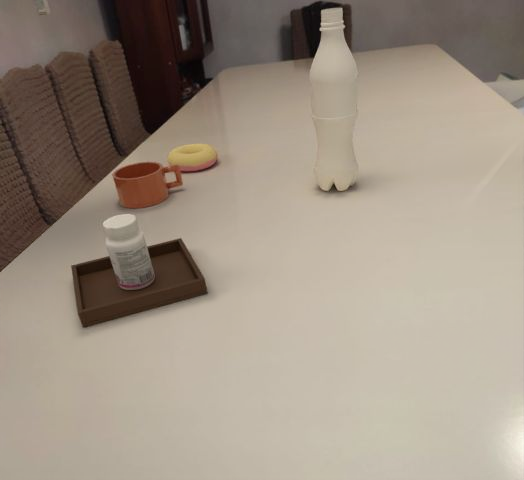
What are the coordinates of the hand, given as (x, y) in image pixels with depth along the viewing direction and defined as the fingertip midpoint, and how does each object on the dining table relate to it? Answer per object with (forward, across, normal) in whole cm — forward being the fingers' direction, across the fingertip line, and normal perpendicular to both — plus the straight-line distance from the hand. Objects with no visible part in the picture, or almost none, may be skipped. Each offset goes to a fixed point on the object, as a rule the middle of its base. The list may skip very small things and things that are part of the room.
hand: (6, 20), depth 67 cm
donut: (+29, -24, -21) cm, 43 cm away
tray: (+29, -6, +22) cm, 37 cm away
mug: (+29, -13, -9) cm, 33 cm away
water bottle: (+29, -42, +6) cm, 52 cm away
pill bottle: (+29, -6, +22) cm, 37 cm away
